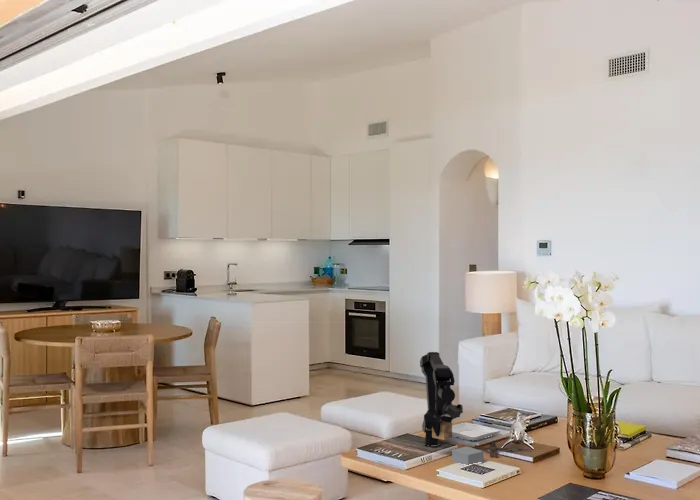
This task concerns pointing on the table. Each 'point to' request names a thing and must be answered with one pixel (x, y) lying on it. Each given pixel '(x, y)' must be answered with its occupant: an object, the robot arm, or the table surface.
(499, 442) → the table surface
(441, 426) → the walnut cube
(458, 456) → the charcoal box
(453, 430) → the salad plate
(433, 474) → the table surface
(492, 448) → the bear figurine
